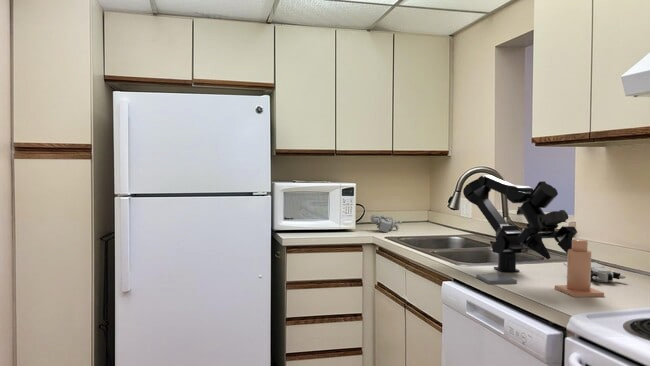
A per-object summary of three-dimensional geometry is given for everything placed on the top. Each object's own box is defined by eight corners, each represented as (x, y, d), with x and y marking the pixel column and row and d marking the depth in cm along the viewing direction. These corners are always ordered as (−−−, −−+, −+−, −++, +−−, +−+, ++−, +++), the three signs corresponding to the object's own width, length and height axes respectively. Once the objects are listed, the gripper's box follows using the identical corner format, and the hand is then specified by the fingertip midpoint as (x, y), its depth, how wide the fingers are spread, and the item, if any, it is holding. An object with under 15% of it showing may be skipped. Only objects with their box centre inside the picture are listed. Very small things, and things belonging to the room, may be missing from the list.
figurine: (399, 241, 265) (370, 237, 260) (395, 224, 274) (366, 220, 269) (407, 229, 258) (377, 225, 253) (402, 212, 267) (373, 208, 262)
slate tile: (476, 277, 152) (476, 274, 152) (502, 276, 153) (502, 273, 153) (489, 283, 143) (489, 280, 143) (516, 283, 144) (516, 280, 144)
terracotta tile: (554, 288, 138) (554, 285, 138) (582, 288, 139) (582, 284, 139) (574, 296, 129) (574, 293, 129) (604, 296, 130) (604, 292, 130)
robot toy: (628, 286, 146) (593, 272, 160) (629, 272, 145) (594, 259, 160) (593, 287, 144) (561, 273, 158) (594, 273, 143) (562, 260, 158)
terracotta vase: (562, 288, 134) (564, 240, 134) (572, 285, 138) (573, 238, 138) (584, 292, 130) (586, 242, 129) (594, 289, 134) (595, 240, 133)
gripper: (525, 201, 141) (551, 243, 131) (573, 200, 147) (602, 241, 137) (506, 223, 149) (530, 265, 139) (553, 222, 155) (579, 262, 145)
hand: (561, 257), depth 140 cm, fingers open, 9 cm apart
